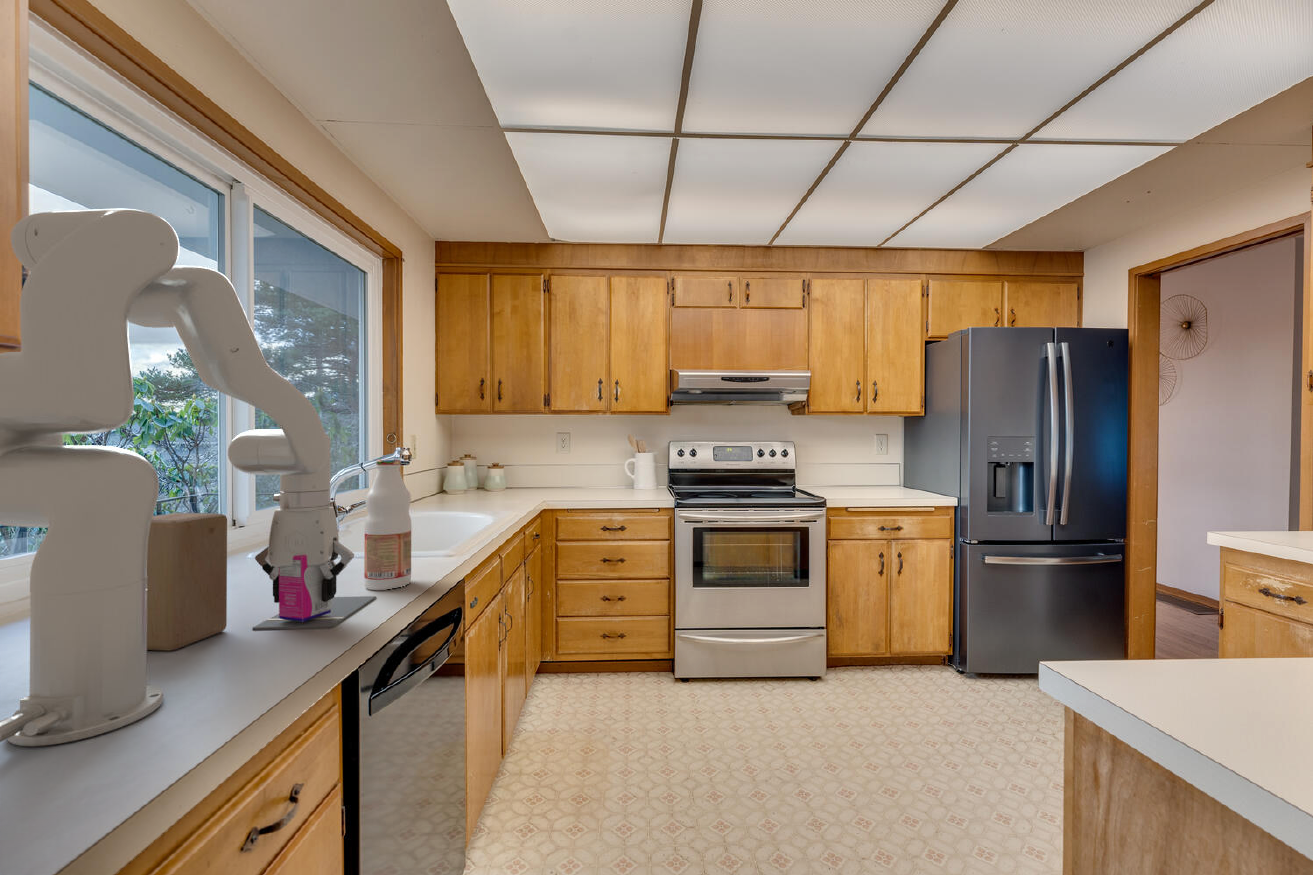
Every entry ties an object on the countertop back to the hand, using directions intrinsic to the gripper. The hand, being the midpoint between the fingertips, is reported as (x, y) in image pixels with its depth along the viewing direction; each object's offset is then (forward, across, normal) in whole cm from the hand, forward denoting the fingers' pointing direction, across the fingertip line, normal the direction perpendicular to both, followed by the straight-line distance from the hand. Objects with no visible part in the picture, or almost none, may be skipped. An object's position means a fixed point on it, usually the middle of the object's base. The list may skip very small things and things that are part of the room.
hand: (304, 599), depth 98 cm
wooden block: (+4, -16, -8) cm, 18 cm away
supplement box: (+3, 0, 0) cm, 3 cm away
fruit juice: (+4, +5, +24) cm, 25 cm away
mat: (+4, 0, +5) cm, 7 cm away
